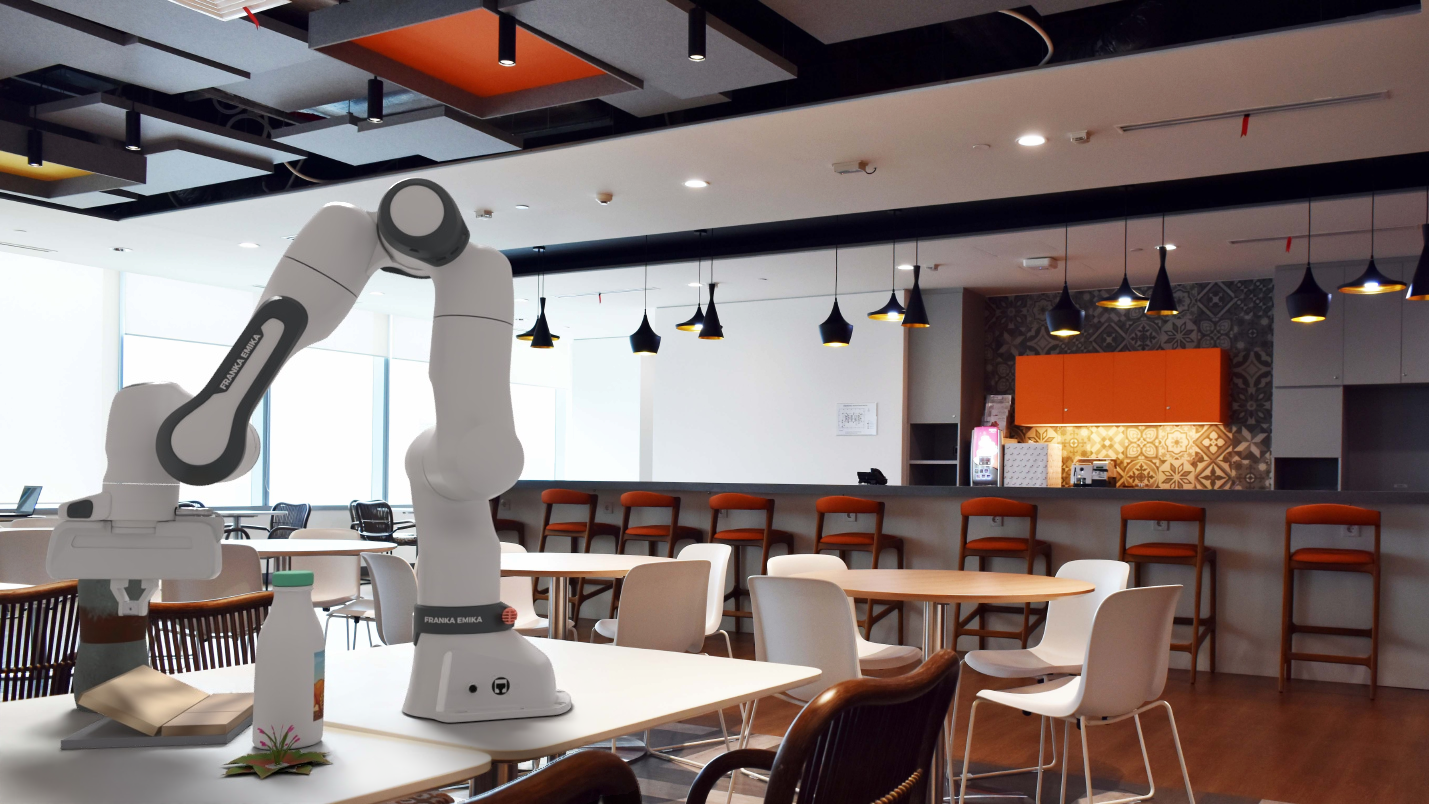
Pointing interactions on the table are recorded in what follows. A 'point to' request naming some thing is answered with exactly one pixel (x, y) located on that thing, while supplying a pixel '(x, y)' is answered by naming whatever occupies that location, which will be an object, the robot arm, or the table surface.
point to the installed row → (212, 715)
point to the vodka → (107, 635)
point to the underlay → (139, 736)
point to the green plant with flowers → (276, 758)
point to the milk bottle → (290, 666)
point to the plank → (142, 699)
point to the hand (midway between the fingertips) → (132, 615)
